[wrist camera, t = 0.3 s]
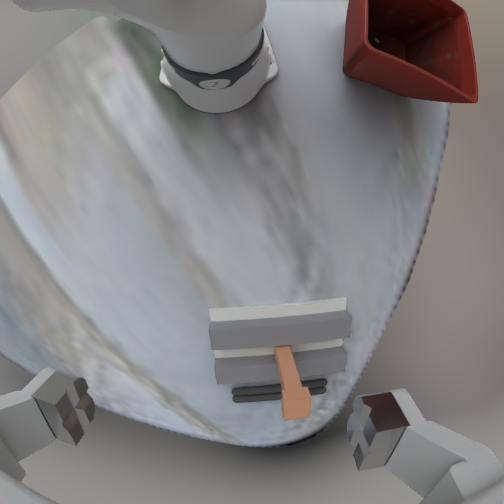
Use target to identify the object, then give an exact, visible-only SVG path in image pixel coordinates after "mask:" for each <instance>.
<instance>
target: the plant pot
mask: <svg viewBox="0 0 504 504" xmlns="http://www.w3.org/2000/svg"><path fill="white" fill-rule="evenodd" d="M375 37H377V38H379V39H380V42H379V43H377V42H375V40H374V38H375ZM343 72H344V74H345V75H347V76H349V77H352V78H355V79H358V80H361V81H364V82H367V83H369V84H372V85H375V86H378V87H380V88H383V89H386V90H388V91H391V92H393V93H396V94H398V95H400V96H405V97H409V98H416V99H422V100H430V101H439V102H452V103H476V102H477V101H478V85H477V73H476V63H475V56H474V49H473V43H472V37H471V32H470V27H469V22H468V17H467V14H466V12H465V10H464V9H463V8H462V7H460V6H459V5H457V4H456V3H455V2H453V1H452V0H349V4H348V10H347V17H346V30H345V45H344V59H343Z"/></svg>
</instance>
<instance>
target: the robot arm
mask: <svg viewBox="0 0 504 504" xmlns="http://www.w3.org/2000/svg"><path fill="white" fill-rule="evenodd" d="M11 1H12V2H13V3H14V4H16V5H17V6H19V7H20V8H22V9H24V10H27V11H30V12H45V11H52V10H62V9H81V10H82V9H83V10H91V11H97V12H102V13H106V14H110V15H114V16H117V17H121V18H123V19H126V20H129V21H132V22H134V23H137V24H139V25H141V26H143V27H145V28H147V29H149V30H150V31H152V32H153V33H154V34H155V35H156V37H157V38H158V39H159V41H160V42H161V43H162V54H164V58H163V61H161V67H162V68H161V72H160V77H159V79H160V82H161V83H162V84H163V85H164V86H166V87H168V88H170V89H173V90H174V91H176V92H177V93H178V95H179V96H180V97H181V98H182V100H183V101H184V102H186V103H187V104H188V105H190V106H191V107H193V108H195V109H197V110H200V111H203V112H209V113H223V112H229V111H232V110H235V109H238V108H240V107H242V106H244V105H245V104H247V103H248V102H249V101H251V100H252V99H253V98H254V97H255V96H256V94H257V93H258V91H259V90H260V89H261V87H262V86H263V85H264V84H265V83H266V82H268V81H269V80H271V79H273V78H274V77H275V76H276V75H277V74H278V65H277V62H276V59H275V56H274V53H273V50H272V47H271V44H270V41H269V38H268V35H267V32H266V29H265V27H264V24H263V22H264V18H265V13H266V7H267V2H266V0H11ZM270 63H271V65H270ZM87 390H88V385H87V383H86V380H85V379H83V378H82V377H78V376H75V375H72V374H69V373H65V372H62V371H58V370H55V369H52V368H49V367H48V368H44V369H43V370H42V371H41V372H40V373H39V374H38V375H37V376H36V377H35V378H34V379H33V380H32V381H31V382H30V383H29V384H28V385H27V386H26V387H25V388H24V389H23V390H22V391H21V392H20V391H15V392H12V393H9V394H6V395H3V396H0V504H59V503H57V502H55V501H52V500H51V499H49V498H47V497H45V496H43V495H42V494H40V493H38V492H36V491H35V490H33V489H31V488H29V487H28V486H26V485H25V484H23V483H21V481H22V480H23V478H24V477H25V475H26V473H25V470H24V469H23V468H22V467H21V465H20V464H19V463H18V462H19V461H20V460H22V459H24V458H26V457H28V456H29V455H31V454H33V453H35V452H36V451H38V450H40V449H42V448H43V447H45V446H47V445H49V444H50V443H52V442H53V441H55V440H56V439H59V440H61V441H64V442H66V443H69V444H72V445H75V446H77V444H78V443H79V441H80V439H81V438H82V436H83V435H84V427H85V426H87V425H89V424H90V423H91V422H92V420H93V418H94V414H95V404H94V401H93V399H92V397H91V396H90V395H89V394H88V393H87ZM353 407H354V410H355V412H353V413H352V414H351V415H350V416H349V420H348V423H347V435H348V440H349V443H350V444H351V445H352V446H353V447H355V448H356V449H355V451H354V454H353V456H354V459H355V462H356V466H357V468H358V471H360V470H367V469H372V468H378V467H383V466H385V468H386V469H388V470H389V471H390V472H391V473H392V474H394V475H395V476H396V477H397V478H399V479H400V480H401V481H402V482H404V483H405V484H406V485H408V486H409V487H410V488H411V489H413V490H414V491H416V492H417V493H418V494H419V495H421V496H422V497H423V498H424V499H423V500H422V501H421V502H420V503H419V504H504V469H503V467H502V466H501V464H500V463H499V461H498V460H497V458H496V457H495V456H494V454H493V453H492V451H491V450H490V448H489V447H487V446H484V445H482V444H480V443H477V442H475V441H473V440H470V439H468V438H466V437H464V436H462V435H460V434H458V433H455V432H453V431H451V430H449V429H447V428H445V427H443V426H441V425H438V424H436V423H434V422H432V421H427V422H426V420H425V419H424V417H423V415H422V414H421V412H420V411H419V409H418V408H417V406H416V404H415V403H414V401H413V400H412V398H411V397H410V395H409V394H408V392H407V391H406V390H405V389H403V388H402V389H396V390H391V391H388V392H380V393H373V394H366V395H359V396H357V397H356V398H355V400H354V403H353Z"/></svg>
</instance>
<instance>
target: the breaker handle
mask: <svg viewBox="0 0 504 504" xmlns="http://www.w3.org/2000/svg"><path fill="white" fill-rule="evenodd" d="M274 355H275V359H276V364H277V369H278V373H279V378H280V383H281V387H282V406H281V409H282V414H283V419H284V420H291V419H299V418H306V417H309V415H310V406H311V395H310V392H309V389H308V387H302V384H301V381H300V378H299V375H298V371H297V368H296V365H295V362H294V359H293V355H292V352H291V349H290V346H289V345H284V346H274Z"/></svg>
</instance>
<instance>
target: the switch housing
mask: <svg viewBox="0 0 504 504" xmlns="http://www.w3.org/2000/svg"><path fill="white" fill-rule="evenodd" d="M346 302H347V299H346V298H345V297H342V298H333V299H324V300H314V301H304V302H293V303H281V304H269V305H255V306H240V307H223V308H209V315H210V327H209V334H210V341H211V348H212V350H214V352H215V367H214V368H215V375H216V381H217V384H233V383H250V382H264V381H275V380H280V378H279V373H278V369H277V364H276V359H275V355H274V346H284V345H289V346H290V349H291V352H292V355H293V359H294V362H295V365H296V368H297V371H298V375H299V378H301V377H309V376H316V375H323V374H329V373H335V372H341V371H345V366H346V359H347V353H346V352H345V350H344V348H343V347H342V342H343V338H347V337H349V336H350V328H351V319H352V317H351V316H350V315H349V313H348V312H347V311H346Z"/></svg>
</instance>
